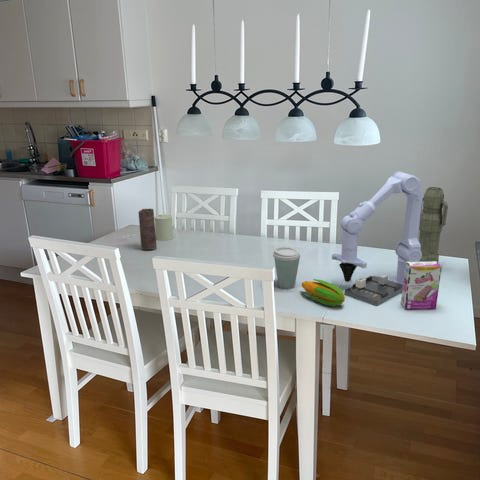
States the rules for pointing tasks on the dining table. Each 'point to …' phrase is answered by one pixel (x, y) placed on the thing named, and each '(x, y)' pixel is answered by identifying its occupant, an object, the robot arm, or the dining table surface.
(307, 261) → the dining table surface
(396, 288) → the console
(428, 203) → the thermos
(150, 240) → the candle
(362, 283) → the fader tab
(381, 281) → the fader
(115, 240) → the dining table surface
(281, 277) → the disposable coffee cup
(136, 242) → the dining table surface
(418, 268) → the candy bar box
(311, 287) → the corn
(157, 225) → the can
